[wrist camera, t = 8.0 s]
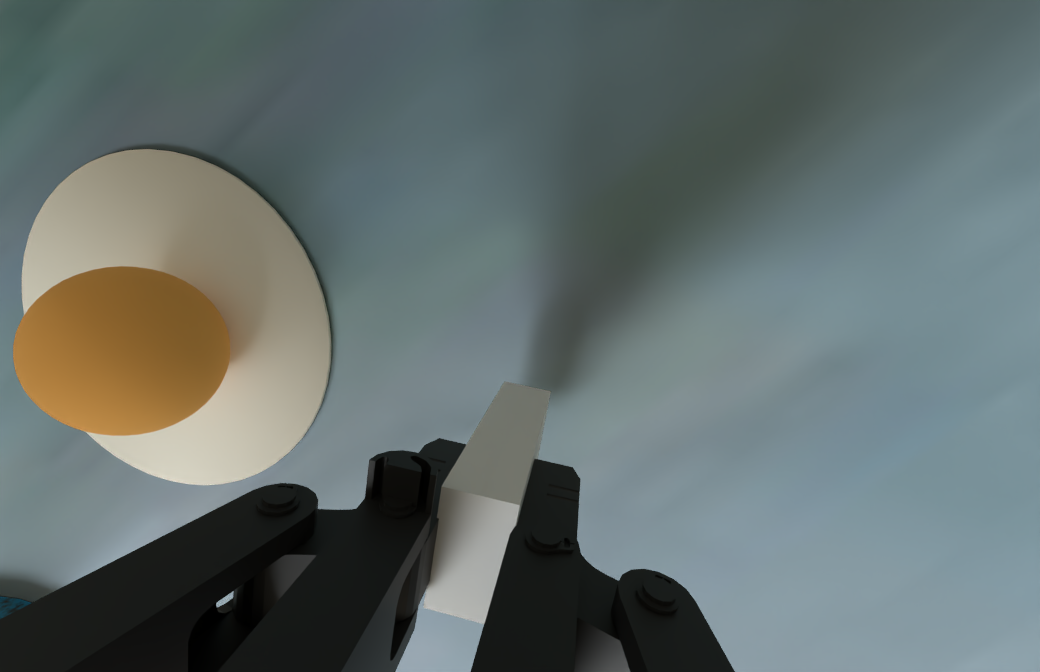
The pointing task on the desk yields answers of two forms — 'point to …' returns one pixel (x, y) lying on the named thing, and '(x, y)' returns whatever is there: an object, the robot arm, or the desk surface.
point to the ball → (121, 351)
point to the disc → (221, 278)
